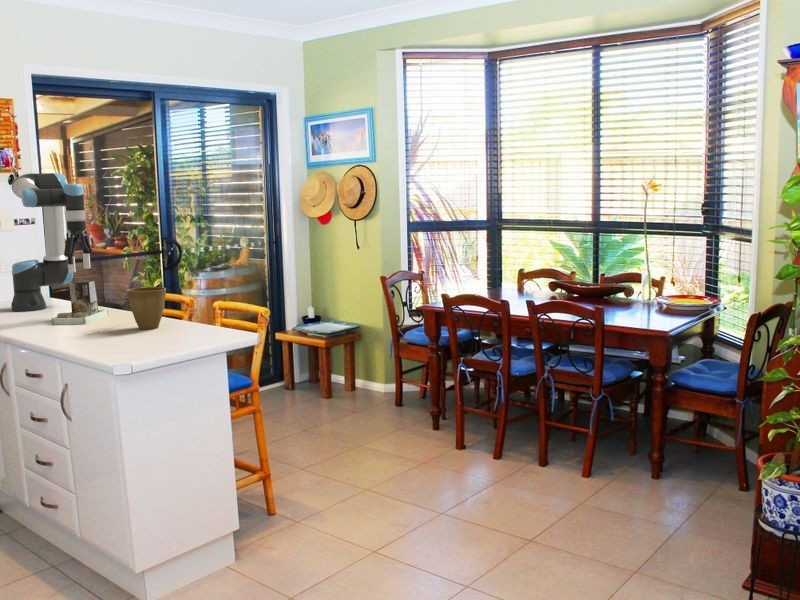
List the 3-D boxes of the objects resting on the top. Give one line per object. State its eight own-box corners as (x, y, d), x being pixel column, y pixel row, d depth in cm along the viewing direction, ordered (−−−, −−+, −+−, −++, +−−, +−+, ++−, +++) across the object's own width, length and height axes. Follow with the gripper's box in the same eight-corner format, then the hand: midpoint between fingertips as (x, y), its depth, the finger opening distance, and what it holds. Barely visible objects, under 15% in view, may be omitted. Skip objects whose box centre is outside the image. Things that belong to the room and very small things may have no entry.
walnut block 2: (80, 321, 318) (79, 312, 318) (88, 322, 317) (87, 312, 317) (73, 323, 315) (72, 313, 314) (81, 323, 313) (80, 314, 313)
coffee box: (99, 316, 330) (96, 280, 328) (92, 319, 324) (89, 281, 322) (79, 317, 331) (76, 280, 329) (71, 319, 325) (68, 282, 322)
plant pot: (156, 331, 297) (154, 291, 295) (122, 331, 300) (119, 291, 298) (175, 325, 311) (172, 286, 309) (142, 324, 314) (139, 286, 312)
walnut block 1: (61, 322, 318) (60, 312, 318) (71, 321, 319) (70, 312, 318) (58, 323, 314) (57, 314, 314) (68, 323, 315) (67, 314, 314)
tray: (77, 318, 335) (77, 310, 334) (108, 317, 334) (108, 309, 334) (52, 326, 313) (51, 318, 313) (85, 326, 312) (84, 318, 312)
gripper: (81, 219, 335) (84, 267, 338) (52, 222, 310) (56, 273, 313) (97, 219, 334) (101, 266, 338) (70, 221, 310) (74, 273, 313)
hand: (79, 270), depth 326 cm, fingers open, 13 cm apart
